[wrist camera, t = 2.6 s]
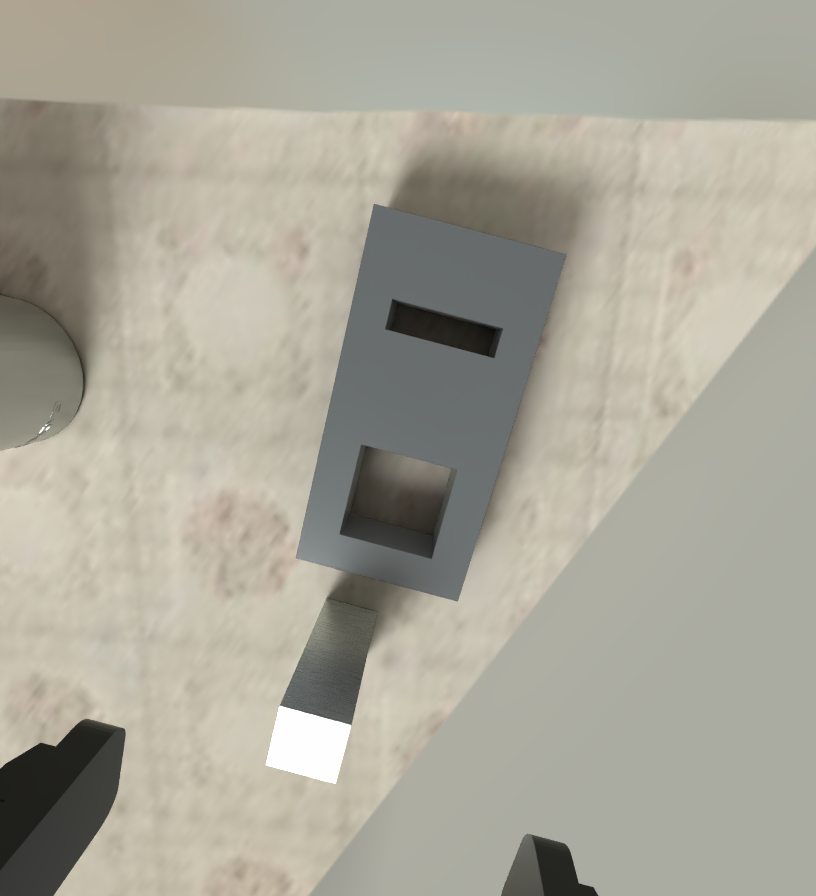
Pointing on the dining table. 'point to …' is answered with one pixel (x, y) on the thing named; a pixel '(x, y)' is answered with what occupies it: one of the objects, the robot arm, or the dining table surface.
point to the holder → (426, 393)
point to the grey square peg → (323, 694)
